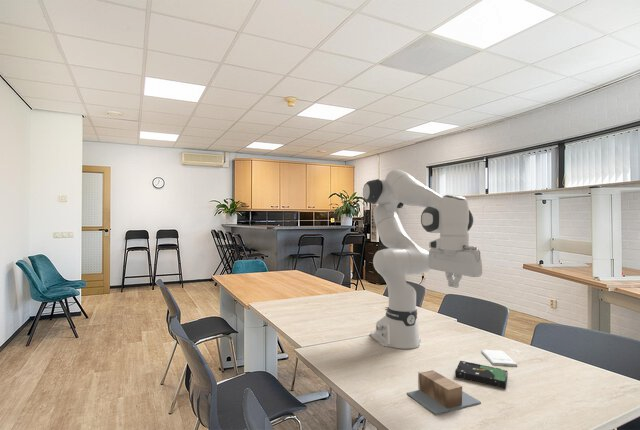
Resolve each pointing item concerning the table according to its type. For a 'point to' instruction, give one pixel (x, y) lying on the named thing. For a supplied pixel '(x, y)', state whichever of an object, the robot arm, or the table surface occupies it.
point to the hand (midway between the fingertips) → (453, 286)
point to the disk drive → (482, 374)
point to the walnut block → (440, 388)
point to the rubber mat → (439, 408)
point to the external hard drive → (498, 358)
